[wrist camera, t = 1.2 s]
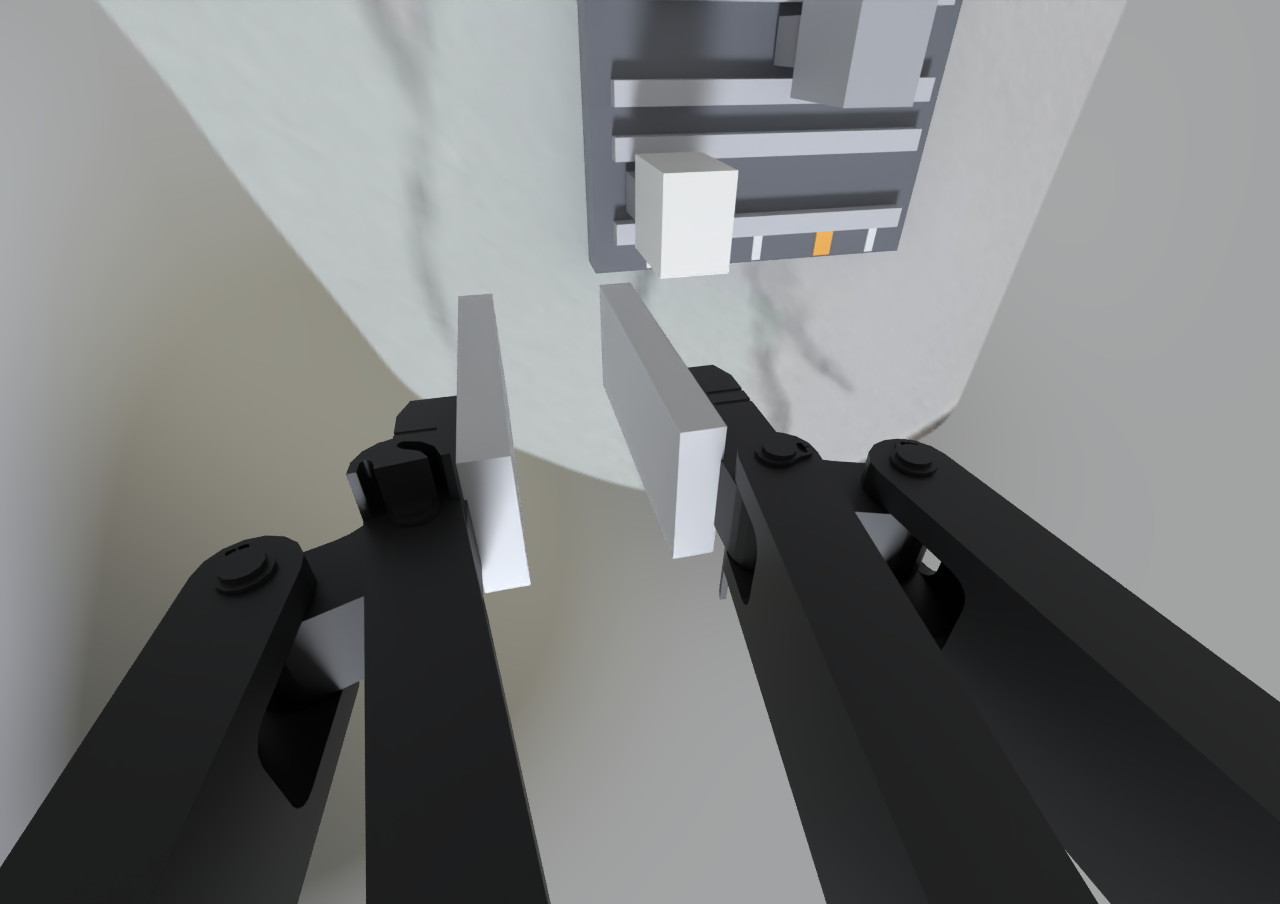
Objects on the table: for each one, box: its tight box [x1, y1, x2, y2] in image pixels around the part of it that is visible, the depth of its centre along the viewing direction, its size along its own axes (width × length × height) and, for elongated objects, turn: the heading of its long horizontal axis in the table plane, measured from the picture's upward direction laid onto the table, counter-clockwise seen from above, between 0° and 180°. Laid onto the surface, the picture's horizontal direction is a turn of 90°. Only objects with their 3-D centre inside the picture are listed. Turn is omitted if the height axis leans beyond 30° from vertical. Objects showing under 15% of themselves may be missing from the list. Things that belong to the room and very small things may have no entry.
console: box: [577, 0, 963, 273], centre depth 29 cm, size 14×18×3 cm
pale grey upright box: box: [774, 0, 938, 108], centre depth 24 cm, size 4×3×7 cm
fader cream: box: [626, 152, 739, 279], centre depth 26 cm, size 4×3×7 cm
